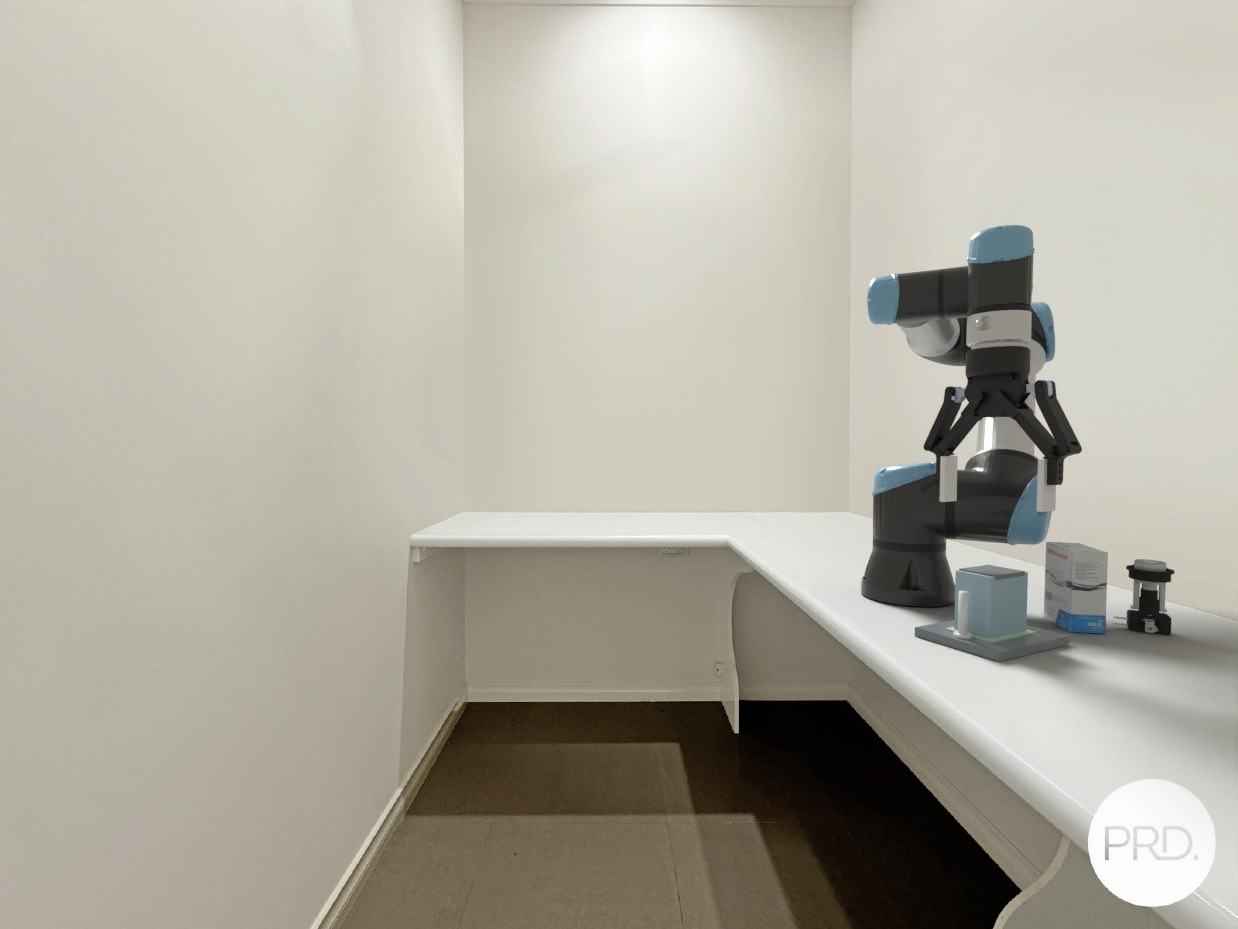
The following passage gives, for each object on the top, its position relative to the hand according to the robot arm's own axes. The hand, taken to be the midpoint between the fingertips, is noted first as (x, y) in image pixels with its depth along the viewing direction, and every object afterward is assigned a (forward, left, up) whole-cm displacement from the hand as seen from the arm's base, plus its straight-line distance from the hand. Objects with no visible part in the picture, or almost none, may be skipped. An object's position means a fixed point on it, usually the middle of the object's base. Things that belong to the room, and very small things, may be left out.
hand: (993, 506), depth 89 cm
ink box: (+1, +18, -19) cm, 26 cm away
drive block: (0, 0, -17) cm, 17 cm away
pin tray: (0, 0, -18) cm, 18 cm away
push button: (+7, +24, -18) cm, 31 cm away
